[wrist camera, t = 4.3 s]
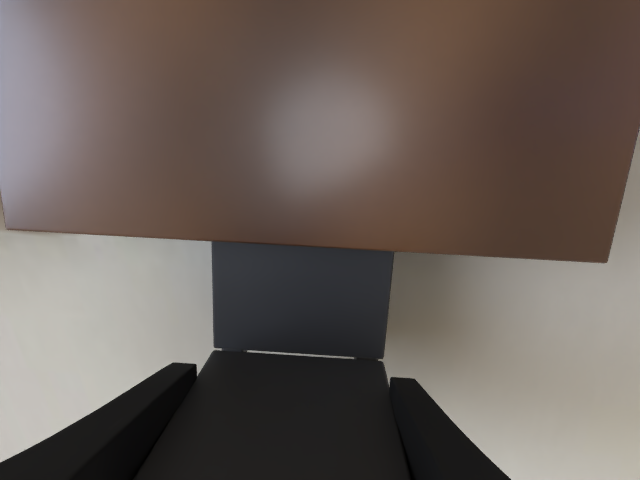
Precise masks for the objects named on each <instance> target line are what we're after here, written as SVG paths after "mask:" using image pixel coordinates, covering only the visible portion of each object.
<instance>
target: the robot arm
mask: <svg viewBox="0 0 640 480" xmlns="http://www.w3.org/2000/svg"><path fill="white" fill-rule="evenodd" d="M196 379H197V367H196V364H187V363H172V364H170V365H168V366H166V367H165V368H163V369H161V370H160V371H158V372H156V373H155V374H153V375H152V376H150V377H148V378H147V379H145V380H144V381H142V382H141V383H139V384H137V385H136V386H134V387H133V388H131V389H130V390H128V391H126V392H125V393H123V394H122V395H120V396H118V397H117V398H115V399H114V400H112V401H110V402H109V403H107V404H106V405H104V406H102V407H101V408H99V409H98V410H96V411H94V412H92V413H91V414H89V415H87V416H85V417H84V418H82V419H80V420H79V421H77V422H75V423H73V424H72V425H70V426H68V427H66V428H65V429H63V430H61V431H60V432H58V433H56V434H54V435H53V436H51V437H49V438H47V439H45V440H44V441H42V442H40V443H38V444H36V445H34V446H32V447H30V448H28V449H27V450H25V451H23V452H21V453H19V454H17V455H15V456H13V457H11V458H9V459H7V460H5V461H3V462H1V463H0V480H133V479H134V477H135V475H136V474H137V472H138V471H139V469H140V467H141V466H142V464H143V463H144V461H145V459H146V458H147V456H148V455H149V453H150V451H151V450H152V448H153V447H154V445H155V443H156V442H157V440H158V439H159V437H160V435H161V434H162V432H163V431H164V429H165V427H166V426H167V424H168V423H169V421H170V419H171V418H172V416H173V415H174V413H175V412H176V410H177V409H178V408H179V406H180V405H181V403H182V402H183V400H184V398H185V397H186V395H187V394H188V392H189V390H190V389H191V387H192V386H193V384H194V382H195V381H196ZM389 393H390V398H391V402H392V406H393V411H394V415H395V419H396V422H397V425H398V428H399V431H400V435H401V439H402V443H403V447H404V451H405V455H406V460H407V464H408V468H409V472H410V476H411V480H511V479H510V478H509V477H508V476H507V475H506V474H505V473H503V472H502V471H501V470H500V469H499V468H498V467H497V466H496V465H495V464H494V463H493V462H492V461H491V460H490V459H489V458H488V457H487V456H486V455H485V454H484V453H483V452H482V451H481V450H480V449H479V448H478V447H477V446H476V445H475V444H474V443H473V442H472V441H471V440H470V439H469V438H468V437H467V436H466V435H465V434H464V433H463V432H462V431H461V430H460V429H459V428H458V427H457V426H456V425H455V424H454V423H453V421H452V420H451V419H450V418H449V417H448V416H447V415H446V414H445V413H444V412H443V410H442V409H441V408H440V407H439V406H438V405H437V404H436V402H435V401H434V400H433V399H432V398H431V397H430V396H429V394H428V393H427V392H426V391H425V390H424V389H423V388H422V386H421V385H420V384H419V383H418V382H417V381H416V380H415V379H411V378H396V377H391V378H390V388H389Z"/></svg>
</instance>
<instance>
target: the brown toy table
mask: <svg viewBox="0 0 640 480" xmlns="http://www.w3.org/2000/svg"><path fill="white" fill-rule="evenodd" d="M639 128H640V0H0V194H1V200H2V207H3V214H4V219H5V227H6V229H7V230H18V231H36V232H54V233H72V234H90V235H107V236H125V237H143V238H161V239H179V240H197V241H215V242H233V243H251V244H269V245H287V246H305V247H323V248H341V249H359V250H376V251H394V252H412V253H430V254H448V255H466V256H484V257H502V258H520V259H538V260H556V261H574V262H592V263H607V261H608V258H609V254H610V249H611V245H612V241H613V237H614V233H615V228H616V224H617V220H618V216H619V212H620V207H621V203H622V199H623V195H624V191H625V186H626V182H627V178H628V174H629V170H630V166H631V161H632V157H633V153H634V149H635V145H636V140H637V136H638V132H639Z"/></svg>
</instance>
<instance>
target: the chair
mask: <svg viewBox="0 0 640 480" xmlns="http://www.w3.org/2000/svg"><path fill="white" fill-rule="evenodd" d="M393 260H394V251H376V250H359V249H341V248H323V247H305V246H287V245H269V244H251V243H233V242H215V241H212V283H213V335H214V348H222V351H220V350H215V351H213V352H212V353H211V355H210V357H209V358H208V360H207V361H206V363H205V365H204V366H203V368H202V370H201V371H200V373H199V374H198V376H197V379H196V381H195V382H194V384H193V386H192V387H191V389H190V390H189V392H188V394H187V395H186V397H185V398H184V400H183V402H182V403H181V405H180V406H179V408H178V409H177V410H176V412H175V413H174V415H173V416H172V418H171V419H170V421H169V423H168V424H167V426H166V427H165V429H164V431H163V432H162V434H161V435H160V437H159V439H158V440H157V442H156V443H155V445H154V447H153V448H152V450H151V451H150V453H149V455H148V456H147V458H146V459H145V461H144V463H143V464H142V466H141V467H140V469H139V471H138V472H137V474H136V475H135V477H134V479H133V480H411V476H410V472H409V468H408V464H407V460H406V455H405V451H404V447H403V443H402V439H401V435H400V431H399V428H398V425H397V422H396V419H395V415H394V411H393V406H392V402H391V398H390V393H389V384H388V379H387V375H386V371H385V367H384V363H383V362H382V361H378V359H383V357H384V349H385V339H386V329H387V319H388V309H389V299H390V289H391V279H392V269H393ZM247 350H255V351H270V352H285V353H300V354H315V355H330V356H346V357H354V359H341V358H326V357H311V356H296V355H281V354H265V353H250V352H247Z"/></svg>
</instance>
